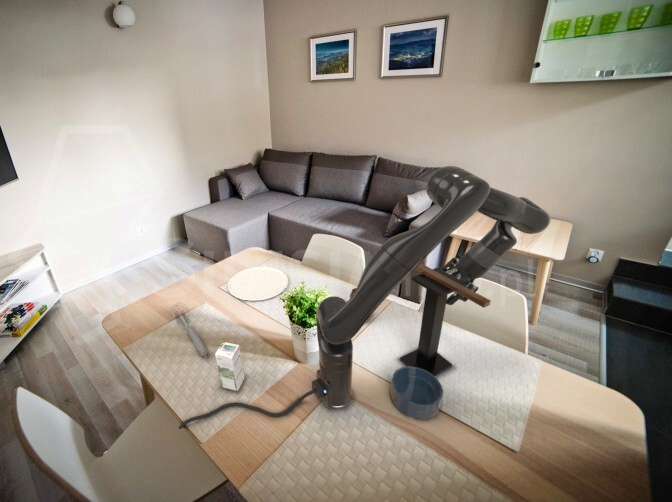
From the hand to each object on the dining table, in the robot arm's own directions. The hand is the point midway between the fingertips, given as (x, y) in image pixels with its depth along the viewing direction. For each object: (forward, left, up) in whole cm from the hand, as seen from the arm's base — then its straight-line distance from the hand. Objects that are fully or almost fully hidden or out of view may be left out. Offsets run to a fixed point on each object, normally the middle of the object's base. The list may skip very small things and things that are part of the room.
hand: (442, 294), depth 105 cm
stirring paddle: (-10, -7, +12) cm, 17 cm away
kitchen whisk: (-75, +49, -21) cm, 92 cm away
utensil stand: (-10, -5, -20) cm, 23 cm away
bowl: (-23, -13, -20) cm, 33 cm away
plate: (-39, +67, -21) cm, 80 cm away
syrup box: (-68, +18, -21) cm, 73 cm away
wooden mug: (-12, +23, -21) cm, 33 cm away
